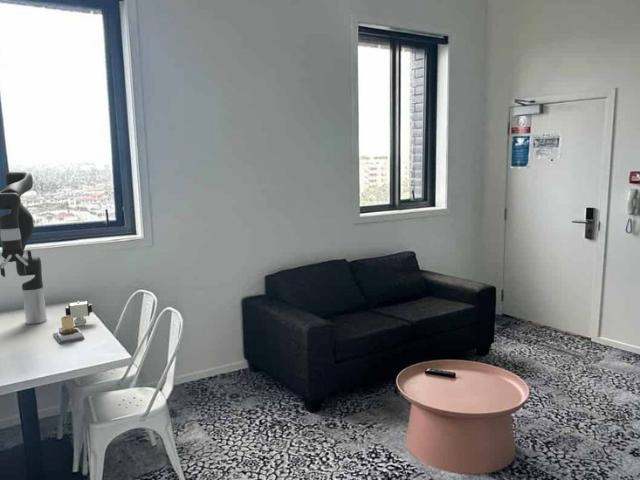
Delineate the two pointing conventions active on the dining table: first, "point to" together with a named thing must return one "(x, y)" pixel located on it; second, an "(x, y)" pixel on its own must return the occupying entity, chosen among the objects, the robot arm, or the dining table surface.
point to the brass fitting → (67, 325)
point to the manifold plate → (68, 336)
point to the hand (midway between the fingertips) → (15, 275)
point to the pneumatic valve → (79, 312)
